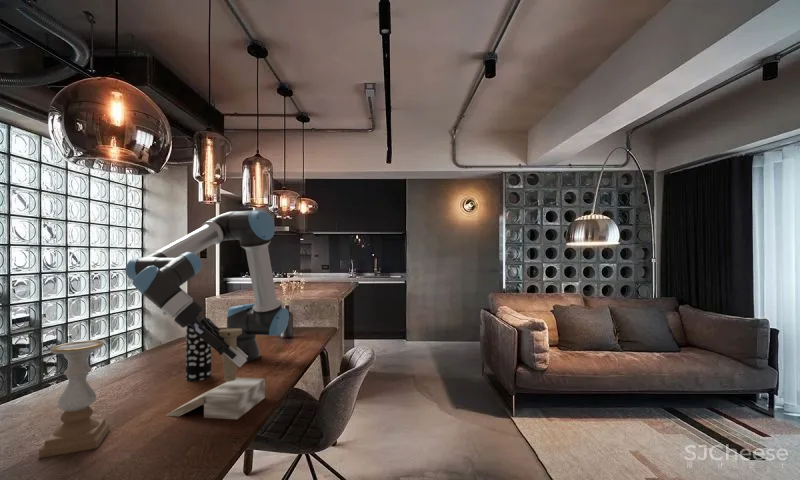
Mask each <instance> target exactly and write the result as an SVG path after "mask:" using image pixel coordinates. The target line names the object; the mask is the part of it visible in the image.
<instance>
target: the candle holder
mask: <svg viewBox="0 0 800 480" xmlns="http://www.w3.org/2000/svg"><path fill="white" fill-rule="evenodd" d="M104 345H105V342H104V341H103V340H100V339H99V340H98V339H94V340H93V339H91V340H90V339H89V340H79V341H71V342H65V343H61V344H58V345H54V346H52V347H51V348H50V353H52V354H54V355H63V357H64V358H65V359H66V360H67V362H68V366H67V368H66V369H65V371H63V375H64V376H66V378H67V379H68V384H67V385H66V387H65V389H64V390H63V392H62V393H60V396H59V397H58V400H57V407H58V408H59V409H60V410H61V411H64V412H62V414H61V415H60V421H61V423H62V424H60V425H59V426H58V427H57V428H56V429H55V430H53V432H52V433H51V434H50V435H48V437H47V438H46V440H45V441H44V444H43V445H42V446H41V447H40V448H39V450H38V459H44V458H50V457H55V456H57V457H58V456H63V455H68V454H75V453H79V452H86V451H90V450H95V449H97V448H98V447H99V446H100V445H101V443H102V442H103V440H104V439H105V437H106V436H107V435H108V433H109V431H110V422H106V419H105V418H96V419H95V418H92V417H91V416H92V415H94V410H93V408H92V407H90V406H91V405H92V404H94V402H95V401H96V399H97V393H96V391H95V389H94V388H93V387H92V386H91V385H90V384H89V382H88V380H87V377H88V376H89V374H90V371H92V367H90V365H89V363H88V359H89V357H90V355H92V352H93V351H94V350H98V349H100V348H103V347H104Z"/></svg>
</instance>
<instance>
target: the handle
mask: <svg viewBox="0 0 800 480" xmlns="http://www.w3.org/2000/svg"><path fill="white" fill-rule="evenodd" d="M241 334H242V329H239V328H232V329H227V328H224V329H220V330H219V336H221V337H223V338H224V342H225V343H226V344H227V345H229V347H230V346H231V347H233V348H234V349H235V350H236V351H237V343H236V340H237V336H239V335H241ZM222 359H223V360H222V371H223V376H224V377H223V381H224V382H227V381H228V382H230V381H234V380H235V379H236V377H237V373H238V372H237V371H238V366H237V365H236V364H235V363H234V362H233V361H231V360H230V359H229V358H228V357H227V356H226V355H223V354H222Z"/></svg>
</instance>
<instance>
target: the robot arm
mask: <svg viewBox="0 0 800 480" xmlns="http://www.w3.org/2000/svg"><path fill="white" fill-rule="evenodd" d="M275 231H276V227H275V222H274V219H273V218H272V215H270V214H269V213H268V212H267V211H265V210H256V209H251V210H237V211H236V210H234V211H233V210H231V211H227V212H225V213H221V214H220V215H216V216H215V217H213V218H210V219H208V220H206V221H205V222H203V223H202V224H201V226H200V227H199V228H197V229H195V230H193V231H192V232H190V233H187V234H186V235H184V236H182V237H181V238H178V239H177V240H175V241H173V242H171V243H169V244H167V245H165V246H164V247H162V248H160V249H158V250H157V251H155V252H152V253H150V254H149V255H146V256H144V257H143V256H139V257H135V258H134V257H133V258H131V259H130V260H128V262H127V263H126V266H125V274H126V276H127V277H128V278H129V280H132V281H131V283H132V286H134V287H135V289H137V290H138V291H139V292H140V294H141V295H143V296H144V297H146V298H147V299H148V300H149V301H150V302H152V303H153V304H154V305H155V306H156V307H158V308H159V309H160V310H162V312H163V313H162V314H163V315H164V316H165V315H167V316H168V317H169V318H171V319H173V318H174V319H173V320H174V322H175V323H176V324H178V325H179V326H180V327H181V328H186V326H187V325H188V324H190V325H191V326H192V327H193V330H194V331H193V332H194V334H196V335H198V336H199V337H200V338H202V339H203V340H204V341H205V342H207V343H208V344H209V345H210V346H211V348H213V349H214V350H215V351H216V352H217V353H218V355H220V356H223V355H226V356H227V357H228V358H229V359H230V360H231V361H233V362H234V363H235V364H236V365H237V368H241V367H242V366H243V365H244V364H245V363H247V362H251V361H255V360H257V359H260V356H261V350H260V348H259V345H258V341H257V339H256V338H257V336H270V337H272V336H275V337H276V336H281V335H282V334H283V333H284V332H285V331H286V329H287V327H288V325H289V320H290V313H289V310H288V308H285V307H282V301H281V300H279V299H277V293H276V288H275V287H276V286H275V281H274V276H273V270H272V265H271V264H272V263H271V258H270V252H269V251H270V250H269V245H270V243H271V242H272V240H271V239H272V238H273V237H274V235H275ZM235 240H236V241H239V245H240V247H241V248H242V249H244V250H245V254H246V259H247V265H248V269H249V274H250V280H251V286H252V291H253V297H254V300H255V301H254V302H255V303H246V304H240V305H234V306H230V307H228V309H227V313H226V314H227V315H226V329H232V328H239V329H242V334H241V335H239V336H237V340H236V343H237V351H236V350H235V349H234V348H233V347H231V346H230V347H229V345H227V344H226V343H225V342H224V338H223V337H221V336H219V330H221V328H219V327H218V325H216V324H215V323H214V322H213V321H212V320H211V319H210V318H209V317H203V316H202V315H201V313H202V312H203V311H204V308H203V306H202V305H201V304H199V303H198V301H193V297H192V296H190V295H189V294H188V293H187V292H186V291H185V290H184V289H182V288H181V286H183V285H184V284H185V283H186V282H188V281H189V280H191V279H192V278H194V277H195V276H196V274H198V273H199V272H200V271H201V270H202V267H203V263H202V260H201V258H200V257H199V256H198V255H197V254H199V253H200V252H202V251H204V250H206V249H207V248H209V247H210V246H212V245H219V244H221V243H222V242H224V241H235ZM222 361H223V358H222Z"/></svg>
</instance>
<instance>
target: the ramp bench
mask: <svg viewBox="0 0 800 480" xmlns="http://www.w3.org/2000/svg"><path fill="white" fill-rule="evenodd" d="M265 387H266V378H263V377H262V378H259V377H257V378H256V377H237V376H236V379H235V380H234V381H230V382H228V381H224V382H223V383H222V384H220V385H217V386H216V387H214V388H211V389H209V390H208V391H205V392H203V393H202V394H199V395H198V396H196V397H195V398H193V399H191V400H189V401H187V402H186V403H184V404H182V405H180V406H179V407H177V408H176V409H174V410H172V411H171V412H168V413H167V414H165V415H164V416H165V417H167V416H168V417H181V416H183V415H185V414H186V413H189V412H191V411H192V410H195V409H197V408H199V407H200V406H203V418H204V419H206V418H207V419H224V420H238V419H240V418H241V417H242V416H244V415H245V414H246V413H248V412H249V411H250V410H252V408H254V407H255V406H256V405H258V404H259V403H260V402H262V400H264V399H265V398H266V391H265V390H266V388H265Z"/></svg>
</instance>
